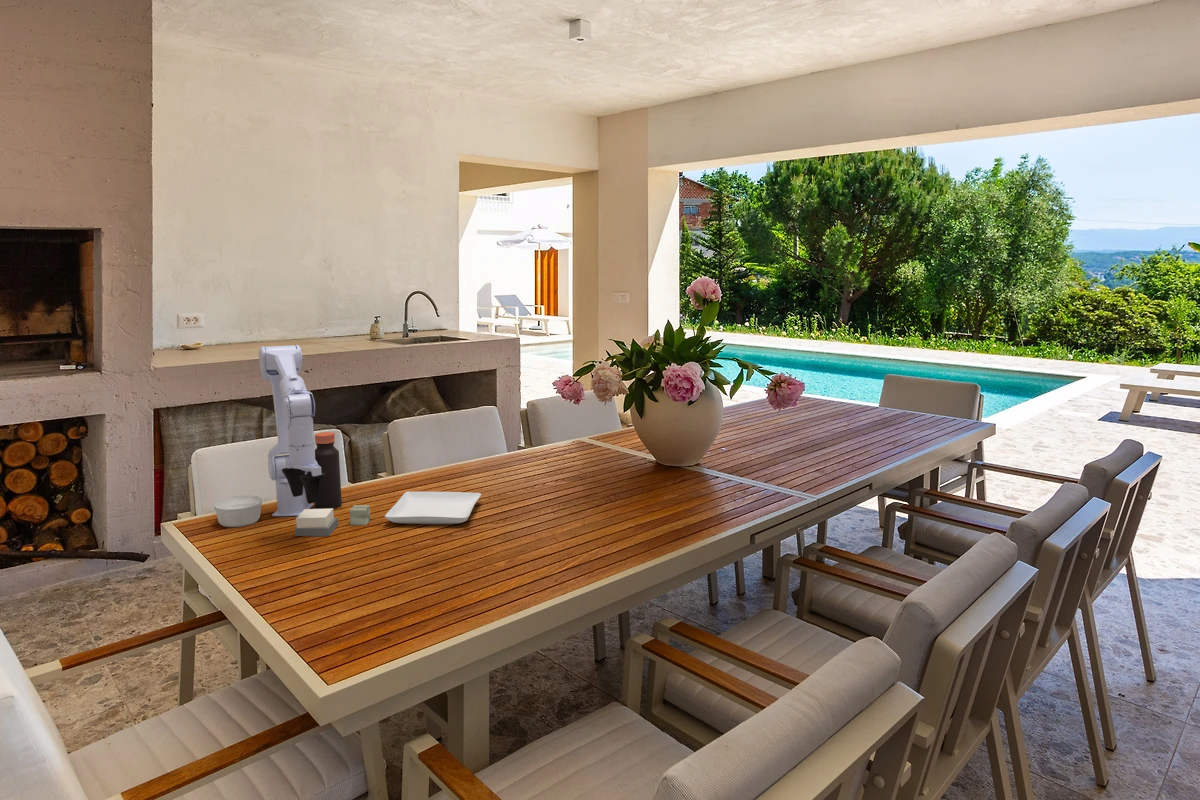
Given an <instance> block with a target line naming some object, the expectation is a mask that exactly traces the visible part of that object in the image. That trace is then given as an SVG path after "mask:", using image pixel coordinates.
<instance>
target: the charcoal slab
mask: <svg viewBox="0 0 1200 800" xmlns="http://www.w3.org/2000/svg"><path fill="white" fill-rule="evenodd" d="M338 526H339V518H338V517H334V519H333V520H332V521H331V522H330V524H329V525H328V526H327V527H319V528H297V526H296V527H295V528H294V535H295V536H310V537H329V536H331V534H333V532H334V531H335V530H336V529H337V528H338Z"/></svg>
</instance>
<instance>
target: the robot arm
mask: <svg viewBox="0 0 1200 800" xmlns="http://www.w3.org/2000/svg"><path fill="white" fill-rule="evenodd" d="M258 350H259V351H258V359H259V360H258V361H259V366H260V367H259V368H260V374H261V377H262V379H263V380H265V381H268V382H269V384H270V387H271V389H272V397H273V407H274V417H275V427H276V435H277V444H275V445H274V446H273V447H272V448H271V449H269V451H268V453H267V457H268V460H267V465H268V466H267V467H268V468H267V469H268V474H269V478H270V479H271V480H272V481H275V491H276V503H277V504H276V505H277V510H275V511H274V513H272V514H271V515H272V517H298V516H299V515H300V514H301V513H302V512H303V510H304V509H313V507H314V506H315V502H317V501H318V496H319V491H320V487H321V484H322V482H323V480H324V478H325V473H321V467H320V466H319V465H318V463H317V462H316V460H315V449H316V448H315V433H314V418H313V417H315V414H316V403H315V398H314V395H313V393H312V392H311V391H308V388H307V386H306V384H305V381H304V378H302V377H301V376H300V373H301V369H302V366H303V351H302V348H301V346H299V344H294V345H275V346H271V345H270V346H264V345H261V347H259V349H258Z"/></svg>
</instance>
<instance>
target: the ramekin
mask: <svg viewBox="0 0 1200 800" xmlns="http://www.w3.org/2000/svg"><path fill="white" fill-rule="evenodd" d="M262 503H263V500H262V498H261V497H259V496H255V495H237V496H229V497H226V498H223V499H220V500H218V501H216V502H215V503H213V509H214V511H215V514H216V517H217V521H218V523H219V525H221V526H223V527H225V528H226V527H227V528H240V527H246V526H250V525H253V524H255V523H257V522H258V521H259V519H260V517H261V510H262Z"/></svg>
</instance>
